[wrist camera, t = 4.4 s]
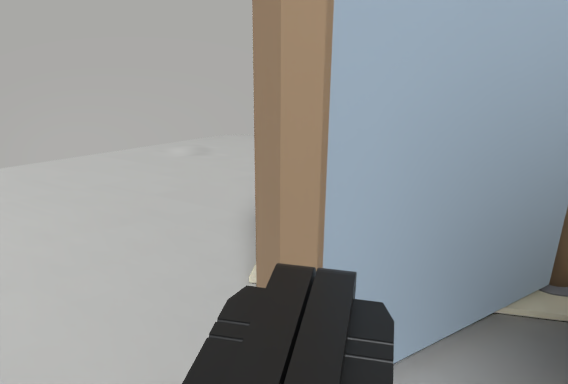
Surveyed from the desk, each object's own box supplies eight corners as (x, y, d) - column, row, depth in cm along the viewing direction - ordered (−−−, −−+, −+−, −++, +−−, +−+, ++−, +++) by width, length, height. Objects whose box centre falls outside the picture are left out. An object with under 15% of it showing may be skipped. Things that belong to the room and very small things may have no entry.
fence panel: (523, 272, 23) (602, -92, 18) (549, 284, 22) (639, -96, 17) (258, 396, 16) (250, -143, 11) (278, 421, 15) (281, -154, 10)
